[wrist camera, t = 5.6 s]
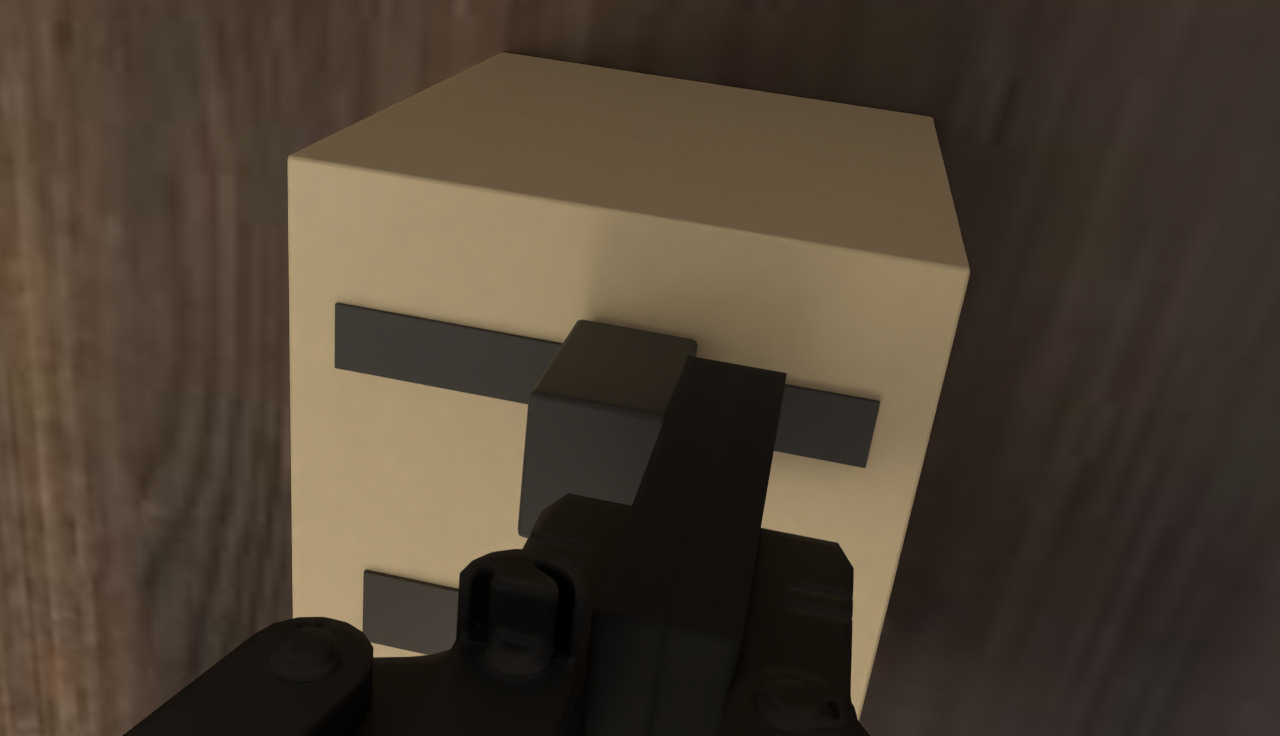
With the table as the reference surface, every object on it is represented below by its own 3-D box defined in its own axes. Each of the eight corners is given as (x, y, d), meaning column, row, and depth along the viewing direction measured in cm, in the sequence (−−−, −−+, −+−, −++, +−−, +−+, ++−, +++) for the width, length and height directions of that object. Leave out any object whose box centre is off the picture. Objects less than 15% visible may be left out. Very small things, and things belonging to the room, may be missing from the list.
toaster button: (577, 316, 19) (527, 391, 16) (699, 337, 18) (669, 418, 16) (564, 446, 20) (515, 538, 17) (679, 468, 19) (648, 565, 17)
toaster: (500, 51, 30) (282, 156, 19) (933, 116, 28) (972, 271, 17) (467, 571, 36) (292, 874, 25) (817, 643, 35) (792, 997, 24)
